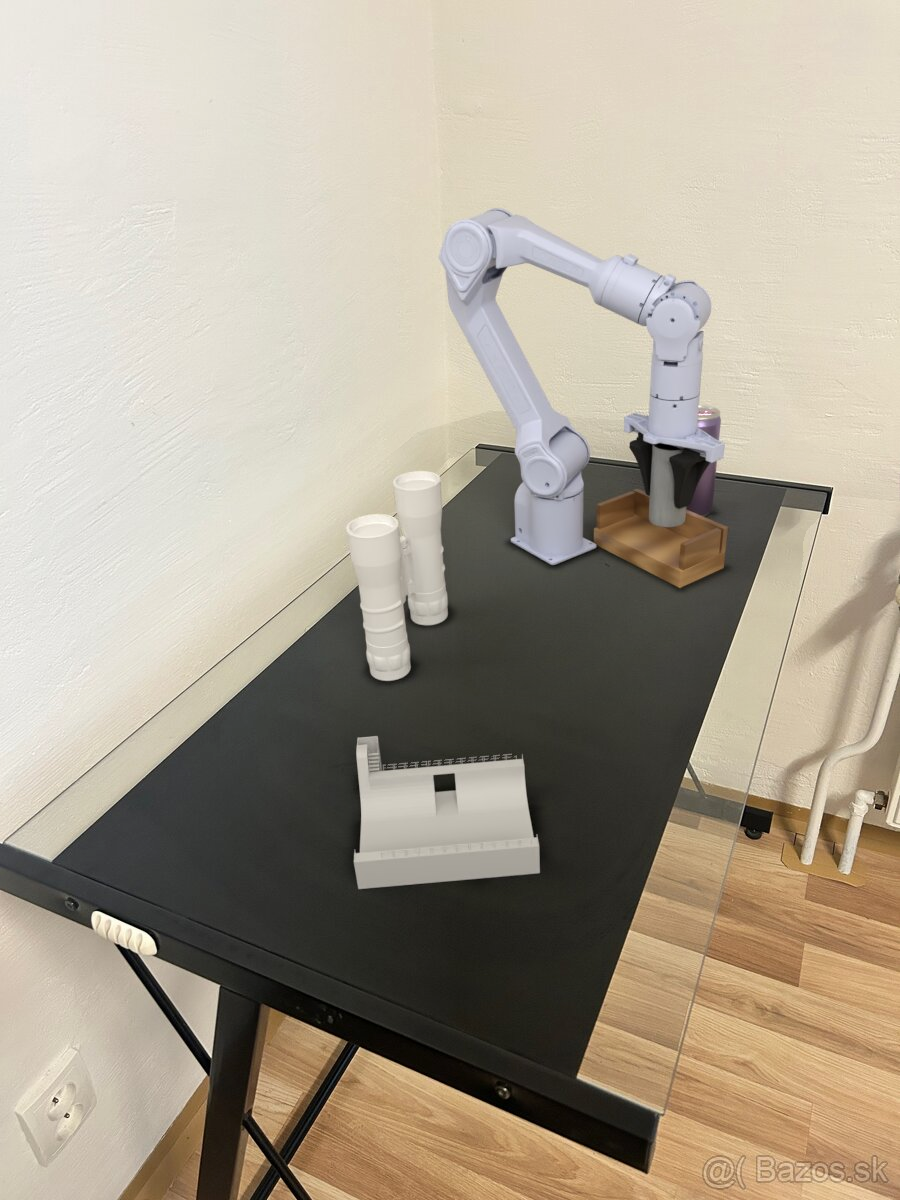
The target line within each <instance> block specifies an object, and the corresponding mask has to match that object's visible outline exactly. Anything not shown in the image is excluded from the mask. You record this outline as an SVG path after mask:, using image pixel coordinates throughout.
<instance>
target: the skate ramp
mask: <svg viewBox="0 0 900 1200" xmlns="http://www.w3.org/2000/svg"><path fill="white" fill-rule="evenodd" d="M356 739H357V741H356V742H357V743H356V750H355V751H356V753H355V754H356V766H357V775H358V776H357V777H358V778H357V779H358V785H359V786H358V787H359V797H360V799H359V800H360V814H361V817H360V835H359V836H360V837H359V852H356V850H354V852H353V866H354V871H355V878H356V884H357V889H358V890H365V889H375V888H376V889H377V888H387V887H388V888H389V887H398V886H399V887H400V886H409V885H420V884H433V883H444V882H456V881H467V880H477V879H478V880H479V879H491V878H501V877H511V876H512V877H514V876H524V875H535V874H540V873H541V867H540V866H541V864H540V859H541V858H540V856H541V855H540V841H539V837H538V835H536V837H534V830H533V826H532V820H531V815H530V809H529V803H528V796H527V786H526V773H525V771H526V769H525V762H524V755H523V754H521V758H517V756H515V759H509V758H510V756H509V755H511V753H507V754H504V757H503V760H497V759H498V756H499V754H498V755H497V754H496V755H494V757H493V758H492V760H493V761H485V760H487V758H485V757H488V755H483V756H481V759H480V762H474V761H475V759H474V758H476V756H471V757H470V759H469V762H471V763H463V762H462V760H463V759H464V760H465V757H460V758H458V760H460V761H457V764H451V761H452V760H453V758H452V759H451V758H450V759H446V762H445V764H447V765H440V763H441V759H439V760H438V759H437V760H435V763H434V765H436V766H434V765H433V766H428V765H430V760H428V761H427V760H425V761H423V763H425V764H422V766H423V767H417V764H418V761H416V762H415V761H414V762H412V764H414V765H412V764H411V768H406V766H407V762H402V763H400V766H399V768H401V769H395V768H396V763H390V764H389V766H390V767H388V769H389V770H385V767H384V766H385V765H383V764H382V757H381V749H380V742H379V741H380V740H379V736H378V735H373V736H363V737H359V736H358V737H357V738H356ZM481 761H482V762H481ZM436 762H437V763H436ZM401 765H403V766H401ZM402 767H403V768H402ZM448 774H449V775H451V774H454V783H455V790H444V791H436V789H435V788H436V787H435V778H434V776H438V775H448Z"/></svg>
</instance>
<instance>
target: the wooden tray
mask: <svg viewBox="0 0 900 1200" xmlns="http://www.w3.org/2000/svg"><path fill="white" fill-rule="evenodd" d="M649 502H650V496H648V495H646V492H645V490H642V489H639V488H636V489H633V491H632V490H631V491H628V492H625V493H623V494H620V495H617V496H615V497H612V498H609V499H607V500H604V501H601V502H599V503H596V508H595V515H596V516H595V527H594V528H593V543H595V544H596V545H597V547H599V548H601V549H603V550H605V551H607V552H609V553H611V554H613V556H614V555H615V556H617V557H618V558H620V559H623V560H624V561H626V562H628V563H630V564H632V565H633V566H636V567H638V568H640V569H642V570H644V571H646V572H648V573H649V574H652V575H653V576H655V577H657V578H659V579H660V580H663V581H665V582H666V583H669V584H671V585H673V586H675V587H676V588H679V589H681V588H683V587H686V586H687V585H690V584H692V583H694V582H696V581H698V580H701V579H703V578H705V577H708V576H710V575H711V574H714V573H716V572H718V571H720V570H723V569H724V567H725V557H726V552H727V551H726V549H727V539H728V530H729V526H726V525H724V524H723V523H719V522H717V521H715V520H713V519H711V518H708V517H706V516H704V517H703V516H701V515H698V514H696V513H694V512H691V511H689V510H687V509H686V517H685V522H684V523H683V524H681V525H679V526H676V527H660V526H657V525H654V524H652V523H651V522H650V521H649Z"/></svg>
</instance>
